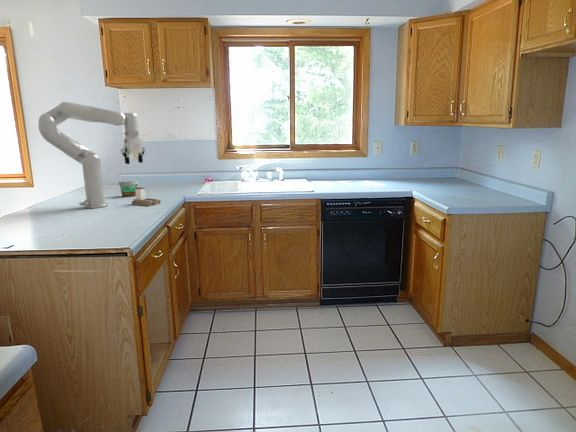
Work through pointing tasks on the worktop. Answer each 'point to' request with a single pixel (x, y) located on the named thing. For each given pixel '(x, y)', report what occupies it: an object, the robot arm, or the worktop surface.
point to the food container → (128, 188)
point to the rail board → (146, 202)
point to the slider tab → (140, 193)
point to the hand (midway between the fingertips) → (134, 163)
